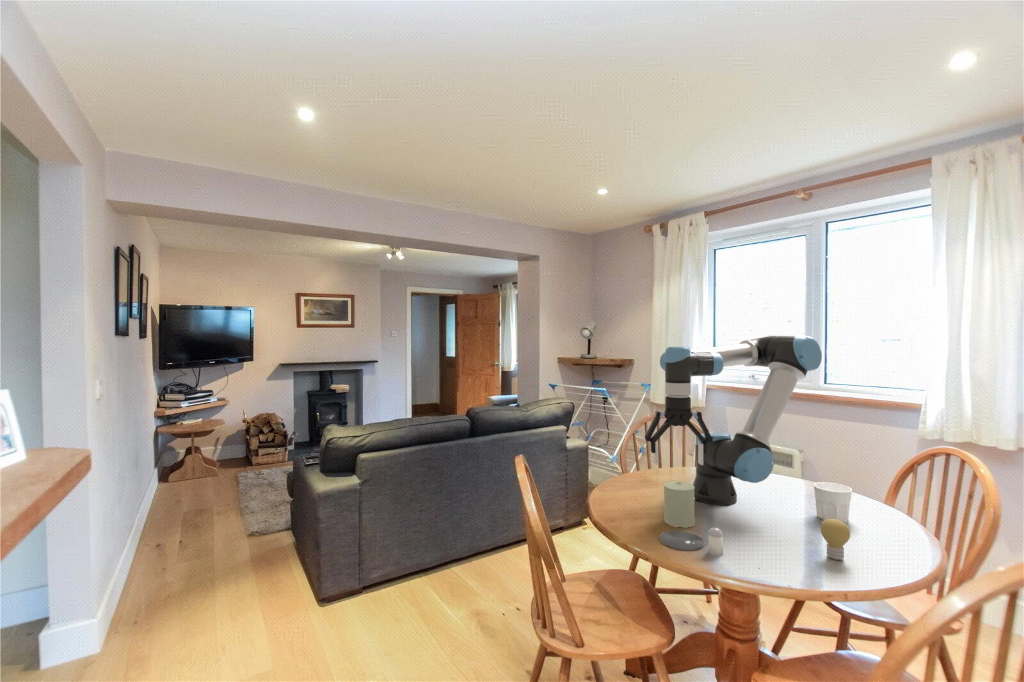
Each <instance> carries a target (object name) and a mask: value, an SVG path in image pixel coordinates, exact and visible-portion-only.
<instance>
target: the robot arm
mask: <svg viewBox="0 0 1024 682" xmlns="http://www.w3.org/2000/svg"><path fill="white" fill-rule="evenodd" d="M821 350H822V349H821V346H820V344H819V343H818V341H817V340H816V339H815V338H813V337H812V336H808V335H801V334H799V335H768V336H763V337H758V338H753V339H746V340H742V341H741V342H739V343H735V344H727V345H720V346H710V347H703V348H701V347H700V348H692V349H691V348H690V347H689V346H668V347H666V349H665V352H663V353H662V354H661V355H660V358H659V365H660V368H661V369H662V371H664V373H665V374H664V375H665V380H664V381H665V386H664V387H665V391H664V392H665V395H666V396H665V398H664V399H665V401H664V403H665V406H664V409H665V410H664V411H659V410H655V412H654V417H653V420H652V421H651V424H650V426H649V427H648V430H647V431H646V432H645V433H646V434H645V436H644V439H645V440H646V442H650V452H651V453H652V454H653V462H654V464H655V465H659V443H658V442H657V441H658V440H659V439H660V438H661V437H662V435H664V434H665V432H666V431H667V430H668V429H669V428H670V427H671V426H672V427H678V426H679V427H685V426H687V427H688V428H689V430H690V431H691V432H692V433H693V434H694V435H695V436H696V438H695V477H694V479H693V483H692V485H693V486H694V487H695V488H694V498H695V499H697V500H699V501H698V502H700V501H701V502H700V503H703V502H705V503H704V504H708V503H709V504H710V505H714V504H716V505H715V506H727V505H728V506H729V505H733V504H736V503H737V501H738V494H737V491H736V488H735V486H734V482H733V479H732V477H733V478H736V479H739V481H743V482H748V483H752V484H756V483H757V484H758V483H760V482H763V481H765V480H766V479H768V477H769V476H771V474H772V471H773V469H774V466H775V464H774V460H775V459H774V457H773V454H772V453H771V452H772V451H773V450H772V449H773V448H772V446H771V444H770V442H771V440H772V438H773V436H774V433H775V431H776V428H777V426H778V424H779V422H780V420H781V417H782V416H783V414H784V411H785V409H786V406H787V404H788V402H789V400H790V399H791V396H792V394H793V391H794V390H795V388H796V385H797V383H798V382H800V381H802V380H805V378H806V376H807V374H808V372H812V371H815V370H817V369H818V368H819V367H820V365H821V363H822V357H823V356H822V355H823V354H822V351H821ZM741 365H743V366H745V367H764V368H769V371H770V372H769V374H768V376H767V379H766V381H765V382H764V385H763V387H762V389H761V391H760V393H759V394H758V397H757V399H756V402H755V403H754V406H753V407H752V410H751V412H750V414H749V416H748V419H747V420H746V423H745V424H744V427H743V429H742V430H741V431H738V432H736V433H735V435H734V436H733V438H732V437H731V436H732V435H731V434H730V433H724V432H714V433H713V432H709V431H710V430H709V429H708V428H707V425H706V423H705V422H704V420H703V414H702V412H701V411H699V410H696V411H693V412H692V408H691V407H692V402H691V401H692V400H691V399H692V398H691V395H692V391H691V389H692V387H691V385H692V384H691V381H692V380H691V378H692V377H706V376H707V377H708V376H709V377H712V376H717V375H720V374H721V373H722V371H723V369H724V368H725V367H733V366H741ZM663 417H664V418H665V421H664V422H663V423H662V425H661V426H660V427H659V429H657V426H658V425H659V423H660V421H661V419H662V418H663ZM692 417H693V418H694V419H695V420H696V421H697V423H698V425H699V427H700V429H701V432H703V433H700V431H699V430H698V429H697V428H696V426H695V425H694V424H693V423H692V422H691V421H690V420H691V419H692ZM656 429H657V431H656V432H655V430H656ZM695 499H694V500H695ZM697 500H696V501H697ZM709 504H708V505H709Z"/></svg>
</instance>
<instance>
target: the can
mask: <svg viewBox="0 0 1024 682" xmlns="http://www.w3.org/2000/svg"><path fill="white" fill-rule="evenodd" d="M694 488H695V487H694V486H693V483H689V482H685V481H679V480H677V481H675V480H672V481H665V483H663V497H664V500H663V504H664V506H663V507H664V510H663V512H664V515H663V516H664V517H663V521H665V522H666V523H667V525H668V524H669V525H668V526H670V525H672V526H671V527H673V526H676V527H675V528H678V527H683V528H682V529H688V527H690V528H693V527H694V526H695V525H696V522H695V520H696V519H695V499H694ZM665 522H664V523H665ZM666 523H665V524H666ZM692 526H693V527H692Z"/></svg>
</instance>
